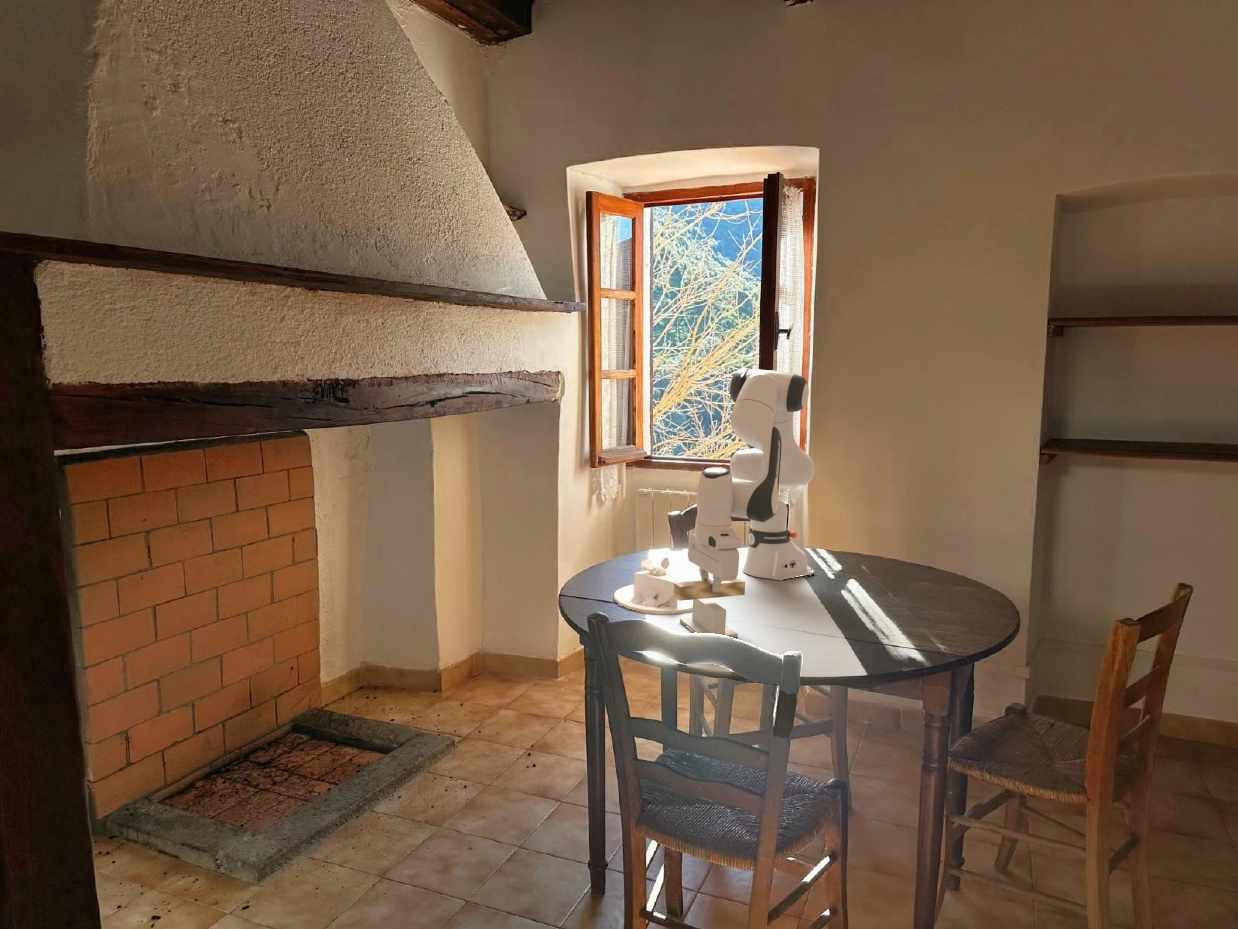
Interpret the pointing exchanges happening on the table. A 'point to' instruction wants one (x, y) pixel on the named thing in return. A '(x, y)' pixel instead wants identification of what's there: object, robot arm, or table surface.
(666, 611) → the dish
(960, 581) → the table surface
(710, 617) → the ridge block
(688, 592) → the beech bar
